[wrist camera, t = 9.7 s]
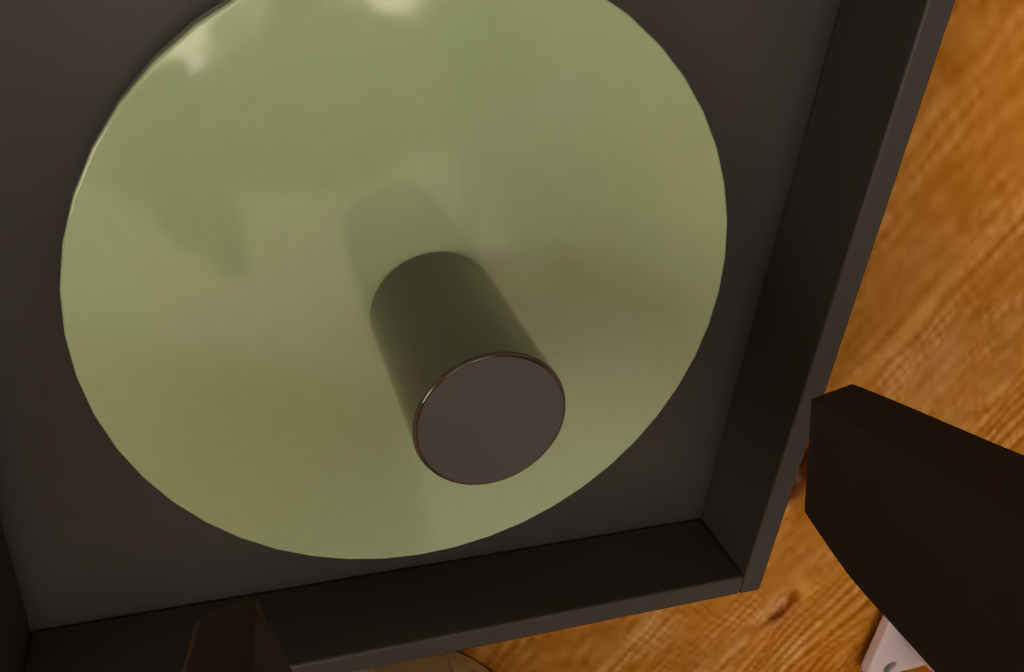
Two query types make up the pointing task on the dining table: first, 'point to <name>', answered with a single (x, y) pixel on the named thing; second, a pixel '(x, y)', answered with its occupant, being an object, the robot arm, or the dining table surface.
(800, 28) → the tray
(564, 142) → the lid
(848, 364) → the dining table surface
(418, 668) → the pot
